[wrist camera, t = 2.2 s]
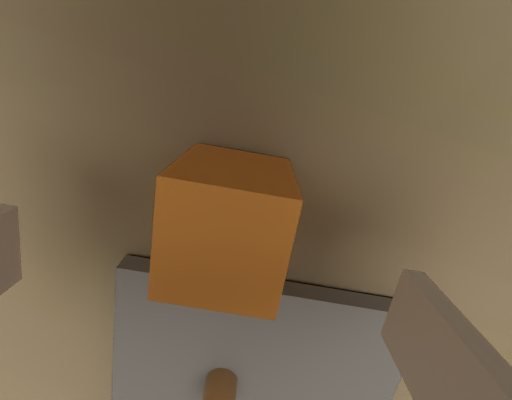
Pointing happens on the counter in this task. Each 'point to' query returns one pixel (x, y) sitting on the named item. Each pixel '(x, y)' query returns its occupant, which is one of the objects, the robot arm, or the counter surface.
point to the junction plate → (250, 346)
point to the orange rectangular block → (224, 231)
